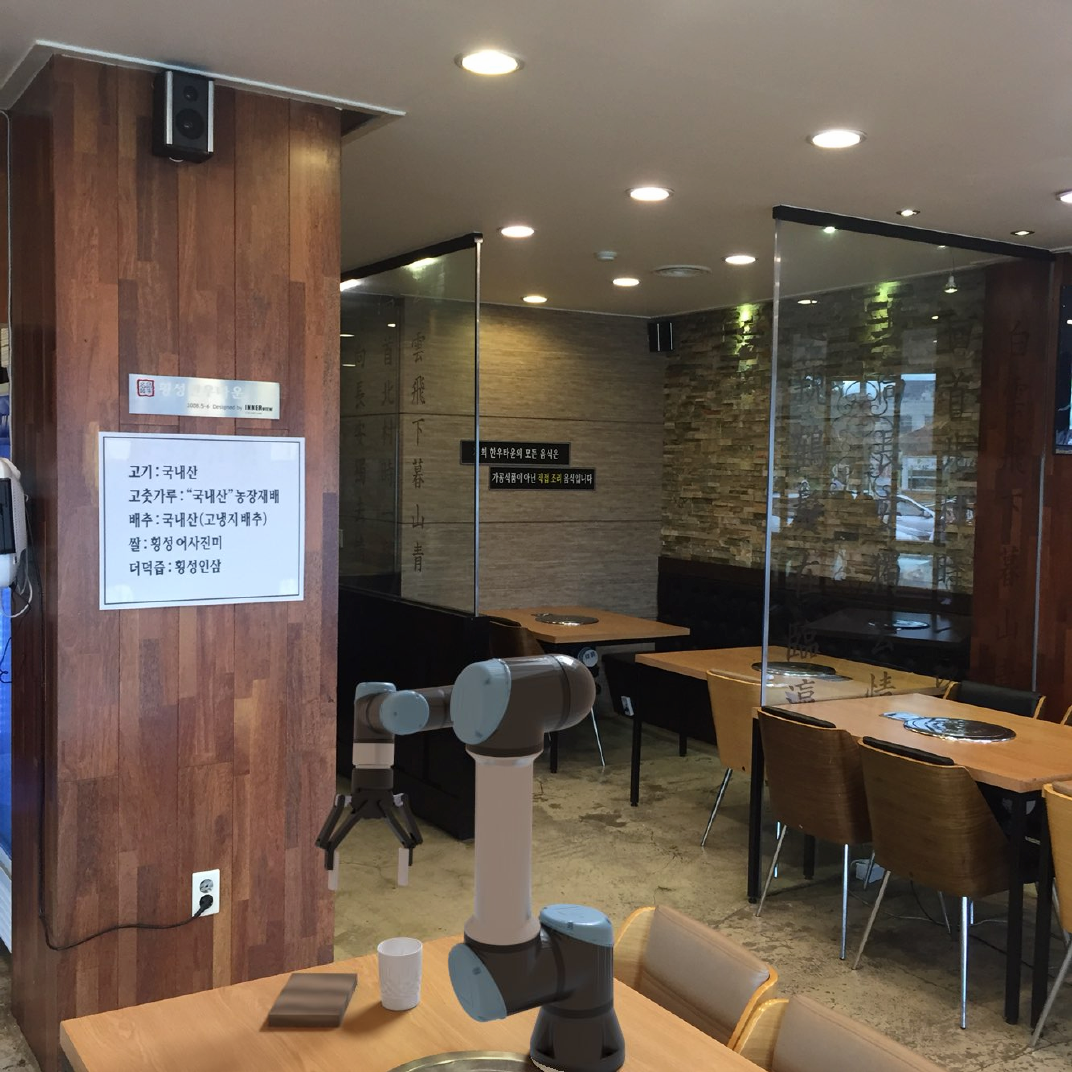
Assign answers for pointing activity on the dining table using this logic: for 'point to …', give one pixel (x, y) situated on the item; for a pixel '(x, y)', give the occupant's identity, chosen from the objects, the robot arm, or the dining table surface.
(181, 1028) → the dining table surface
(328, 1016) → the walnut board
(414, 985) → the white cup
